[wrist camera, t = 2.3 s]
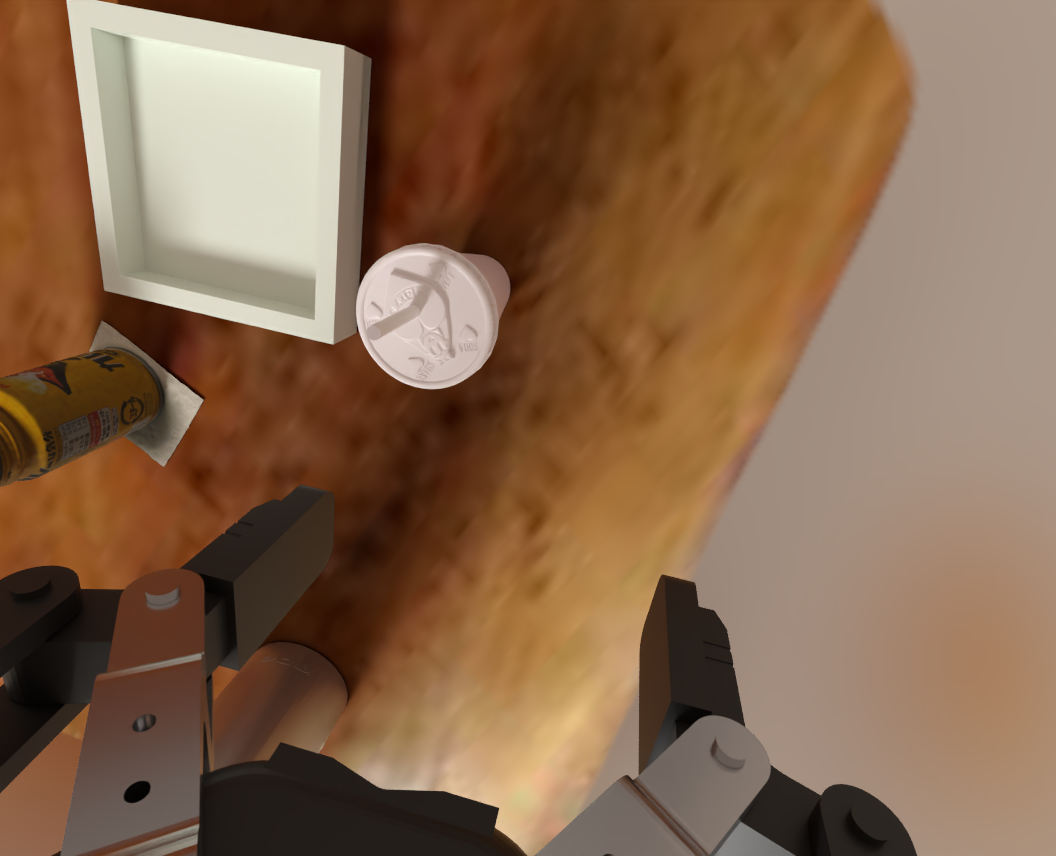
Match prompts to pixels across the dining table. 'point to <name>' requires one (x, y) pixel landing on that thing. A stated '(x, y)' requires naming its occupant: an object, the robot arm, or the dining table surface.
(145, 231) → the tray
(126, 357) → the condiment
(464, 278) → the smoothie
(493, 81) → the dining table surface
